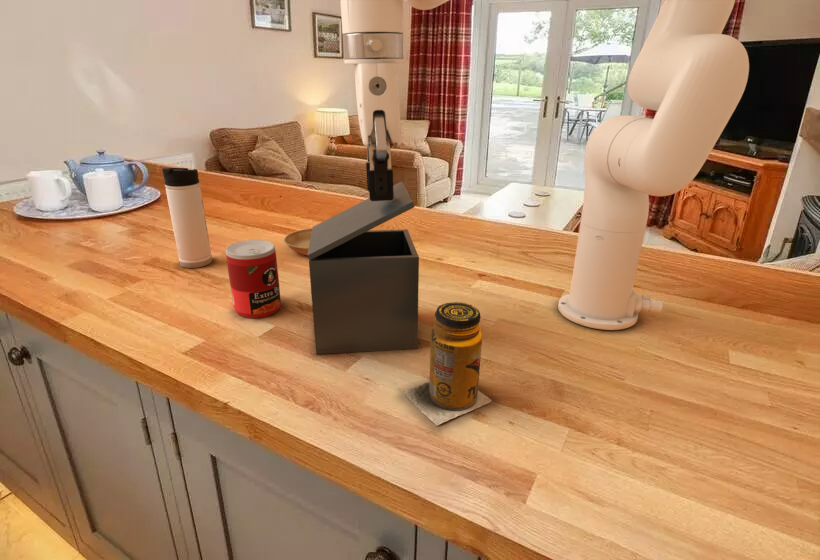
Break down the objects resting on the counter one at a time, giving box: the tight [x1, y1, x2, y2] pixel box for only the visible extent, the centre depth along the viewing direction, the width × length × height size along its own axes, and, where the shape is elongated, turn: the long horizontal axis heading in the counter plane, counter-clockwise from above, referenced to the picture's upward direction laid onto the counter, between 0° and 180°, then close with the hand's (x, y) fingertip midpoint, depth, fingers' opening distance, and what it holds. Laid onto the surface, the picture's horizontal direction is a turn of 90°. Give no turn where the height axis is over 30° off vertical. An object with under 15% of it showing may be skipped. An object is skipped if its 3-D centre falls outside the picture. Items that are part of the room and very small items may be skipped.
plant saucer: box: [283, 228, 312, 256], centre depth 111 cm, size 15×15×3 cm
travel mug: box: [161, 167, 213, 269], centre depth 98 cm, size 6×7×20 cm
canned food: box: [225, 239, 282, 319], centre depth 81 cm, size 8×8×11 cm
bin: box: [308, 229, 420, 355], centre depth 74 cm, size 15×13×14 cm
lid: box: [306, 181, 416, 260], centre depth 68 cm, size 15×13×5 cm
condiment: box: [402, 301, 493, 426], centre depth 59 cm, size 7×8×12 cm
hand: (380, 193), depth 68 cm, fingers closed on lid, 5 cm apart
